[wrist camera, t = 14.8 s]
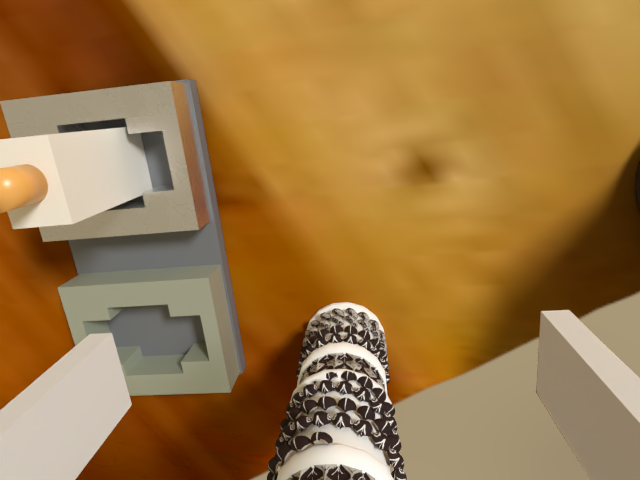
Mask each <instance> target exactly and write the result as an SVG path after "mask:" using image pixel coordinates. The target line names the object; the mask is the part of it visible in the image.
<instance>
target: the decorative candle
mask: <svg viewBox="0 0 640 480" xmlns="http://www.w3.org/2000/svg"><path fill="white" fill-rule="evenodd" d="M305 337H306V338H304V339H303V348H302V350H301V357H300V358H299V362H298V363H299V367H300V368H298V369H297V371H296V375H297V377H298V382H297V388H296V389H295V390H294V391H293V394H292V397H291V401H290V404H288V406H287V408H286V414H287V415H288V416H287V417H286V419H284V420H283V421H282V422H281V426H280V428H281V431H282V432H281V433H280V435H279V438H278V439H277V441H276V444H275V448H276V450H277V451H276V455H275V457H273V458H272V459H271V460H270V461H269V464H268V469H269V471H270V472H269V474H268V476H267V480H406V479H407V478H406V474H405V472H404V470H403V467H404V460H403V458H402V456H401V455H400V454H399V453H398V452H399V451H400V449H401V443H400V441H399V436H398V433H397V432H396V431H397V424H396V421H395V419H394V417H393V415H394V414H395V409H394V407H393V405H392V402H391V401H390V399H389V397H388V396H387V386H386V384H387V383H389V381H390V376H389V374H388V373H387V372H388V370H389V365H388V362H387V361H388V355H387V352H386V351H387V345H386V342H385V334H384V329H383V327H382V325H381V323H380V322H379V320H378V318H377V316H376V315H375V314H373V313H372V312H371V311H369V310H368V309H367V308H365V307H364V306H361V305H357V304H354V303H351V302H341V303H332V304H330V305H328V306H326V307H324V308H321V309H319V310H318V311H317V313H316V314H315V315H314V316H313V317H312V318H311V319H310V320H309V324H308V327H307V330H306V331H305ZM390 464H391V466H393V467H394V471H393V472H392V473H391V472H390ZM278 465H279V466H281V468H280V471H279V474H278V471H277V469H278Z"/></svg>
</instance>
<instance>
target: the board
mask: <svg viewBox="0 0 640 480" xmlns="http://www.w3.org/2000/svg"><path fill="white" fill-rule="evenodd" d="M174 82H181V83H187V86H188V92H189V97H190V103H191V108H192V114H193V119H194V124H195V130H196V135H197V141H198V146H199V152H200V157H201V163H202V168H203V174H204V179H205V185H206V190H207V195H208V201H209V206H210V212H211V217H212V220H211V221H210V222H208V223H207V224H206V225H204V226H203V227H202V228H201V229H199V230H190V231H177V232H164V233H152V234H139V235H126V236H113V237H100V238H87V239H74V240H68V242H69V245H70V248H71V252H72V255H73V259H74V262H75V266H76V269H77V273H78V275H79V274H85V273H100V272H114V271H129V270H144V269H159V268H173V267H188V266H203V265H218V264H220V266H221V271H222V277H223V282H224V288H225V293H226V299H227V304H228V310H229V315H230V321H231V326H232V332H233V337H234V342H235V348H236V353H237V359H238V364H239V370H240V372H239V374H243V372H244V369H245V367H246V363H245V358H244V352H243V346H242V341H241V335H240V329H239V324H238V318H237V312H236V307H235V301H234V296H233V290H232V284H231V279H230V273H229V267H228V262H227V256H226V250H225V245H224V239H223V233H222V228H221V222H220V217H219V211H218V205H217V200H216V194H215V188H214V183H213V177H212V171H211V166H210V160H209V154H208V149H207V143H206V138H205V132H204V126H203V121H202V115H201V109H200V104H199V98H198V92H197V87H196V81H195V80H191V79H187V80H179V81H174ZM121 127H127V125H126V121H125V119H121V120H112V121H103V122H94V123H85V124H83V128H84V131H89V130H100V129H110V128H121ZM141 138H142V142H143V147H144V151H145V156H146V160H147V165H148V170H149V174H150V179H151V183H152V188H155V187H158V186H162V185H173V181H172V176H171V171H170V167H169V162H168V157H167V152H166V147H165V142H164V137H163V133H162V131H153V132H143V133H141ZM135 201H144V199H143V195H141V196H139V197H137V198H134V199H132V200H129V201H127V202H135ZM107 323H108V326H109V330H110V333H112V335H113V338H114V342H115V345H116V347H125V346H140V348H141V352H142V356H161V355H184V354H187V353H188V351H189V350H190V348H191V347H192V345H193V344H194V343H206V341H205V336H204V331H203V327H202V322H201V317H200V315H193V316H175V317H170V313H169V308H168V304H165V305H148V306H131V307H125V308H124V309H123V310H121V311H120V312H119V313H118V314H117V315H116V316H115V317H113V318H112V319H111V320H107Z"/></svg>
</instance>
